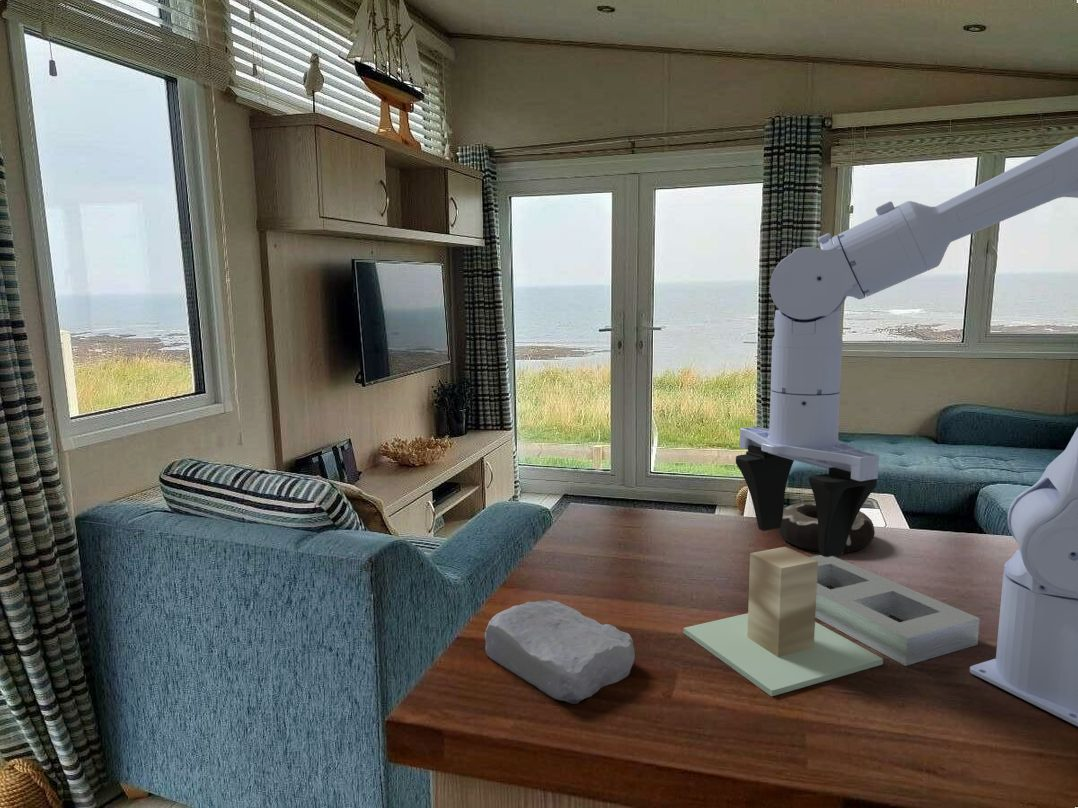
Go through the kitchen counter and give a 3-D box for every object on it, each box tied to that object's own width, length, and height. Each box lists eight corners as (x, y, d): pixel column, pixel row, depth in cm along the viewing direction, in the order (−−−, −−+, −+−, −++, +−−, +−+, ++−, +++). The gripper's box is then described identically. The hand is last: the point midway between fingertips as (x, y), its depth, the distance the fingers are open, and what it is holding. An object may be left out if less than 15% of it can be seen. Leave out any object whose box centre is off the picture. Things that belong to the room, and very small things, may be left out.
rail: (977, 644, 66) (979, 618, 65) (905, 665, 62) (907, 638, 62) (826, 575, 82) (827, 553, 82) (762, 588, 79) (762, 566, 78)
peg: (813, 647, 64) (817, 560, 63) (777, 657, 63) (781, 568, 62) (782, 629, 68) (785, 546, 67) (747, 637, 67) (750, 553, 65)
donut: (773, 551, 90) (774, 520, 90) (777, 523, 101) (778, 495, 100) (877, 562, 86) (879, 530, 86) (869, 531, 97) (871, 502, 96)
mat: (882, 664, 63) (883, 658, 62) (771, 696, 58) (771, 690, 58) (783, 609, 73) (784, 604, 73) (683, 632, 69) (683, 627, 69)
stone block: (554, 641, 71) (472, 655, 65) (563, 593, 71) (481, 602, 65) (647, 695, 63) (562, 718, 56) (657, 641, 62) (573, 657, 56)
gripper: (715, 384, 69) (712, 524, 71) (835, 405, 56) (827, 575, 58) (773, 380, 72) (769, 514, 74) (901, 398, 59) (891, 561, 61)
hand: (798, 540), depth 66 cm, fingers open, 7 cm apart
